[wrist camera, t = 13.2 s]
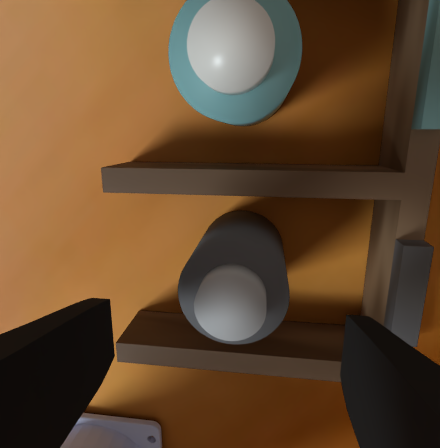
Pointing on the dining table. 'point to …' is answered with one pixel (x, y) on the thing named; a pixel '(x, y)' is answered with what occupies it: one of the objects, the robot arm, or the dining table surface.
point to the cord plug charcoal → (236, 280)
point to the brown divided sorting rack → (320, 188)
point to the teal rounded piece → (235, 57)
